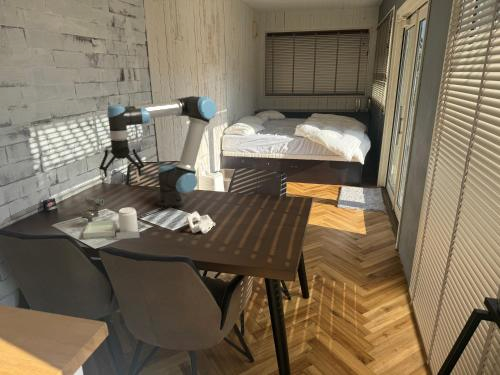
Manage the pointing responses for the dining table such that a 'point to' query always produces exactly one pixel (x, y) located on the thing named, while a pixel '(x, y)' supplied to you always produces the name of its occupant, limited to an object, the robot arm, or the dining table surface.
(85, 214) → the idler pulley
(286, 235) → the dining table surface
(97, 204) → the mechanical component
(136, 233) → the tensioner cradle
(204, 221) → the mounting bracket
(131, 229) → the white jar
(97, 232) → the parts tray
